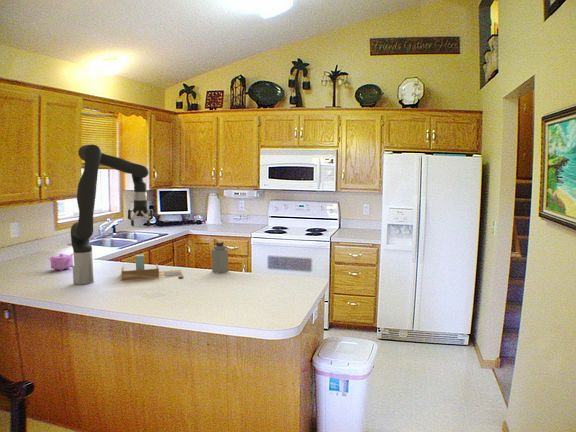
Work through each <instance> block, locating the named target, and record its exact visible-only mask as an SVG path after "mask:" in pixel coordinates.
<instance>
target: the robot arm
mask: <svg viewBox="0 0 576 432" xmlns="http://www.w3.org/2000/svg"><path fill="white" fill-rule="evenodd" d="M77 154H78V156H79V158H80V160H81V161H84V168H83V172H82V175H81V177H80V178H79V179H80V180H79V181H78V183H77V190H76V201H77V207H78V221H76V222H74V223H73V224H72V225H71V228H70V240H71V247H72V250H73V253H74V254H73V267H72V280H73V281H72V282H73V283H72V284H75V285H78V286H79V285H80V286H81V285H88V284H92V283H94V263H93V260H94V259H93V246H92V245H91V243H90V238H91V237H92V236H93V234H94V212H95V203H96V194H97V186H98V176H99V174H98V173H99V168H100V165H102V166H106V167H108V168H111V169H114V170H116V171H119V172H122V173H125V174H131V178H132V183H133V209H130V208H129V209H127V219H128V220H130V226H132V227H135V218H137V217H144V218H146V219H145V220H146V226H147V227H148V228H149V227H150V224H151V220H153V219H154V211H153V209H152V208H151V209H148V194H147V183H146V182H144V178H147V177H148V176H149V169H148V168H147V166H145V165H143V164H140V163H139V164H138V163H135V162H131V161H129V160H127V159H124V158H121V157H117V156H113V155H109V154H105V153H104V152H102V151H101V148H100V146H98V145H97V144H85V145H82V146H81V147H79V149H78V153H77ZM132 213H133V216H132ZM147 213H149V215H148V214H147ZM131 216H132V217H131ZM149 216H150V217H149Z"/></svg>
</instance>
